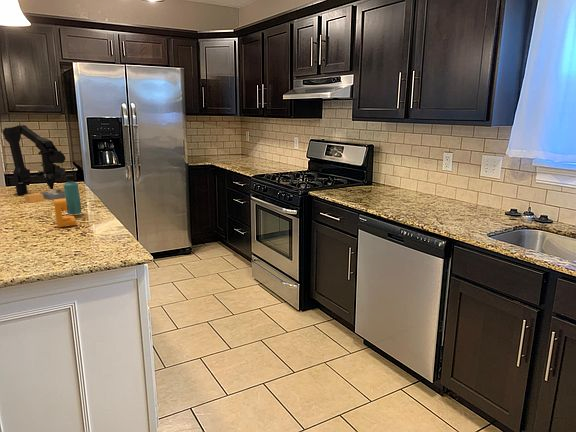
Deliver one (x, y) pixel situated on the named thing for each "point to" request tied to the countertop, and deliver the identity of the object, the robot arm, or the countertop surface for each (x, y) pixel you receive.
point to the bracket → (61, 221)
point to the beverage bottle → (72, 196)
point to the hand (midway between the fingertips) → (51, 189)
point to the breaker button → (51, 191)
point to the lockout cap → (34, 197)
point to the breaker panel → (54, 194)
